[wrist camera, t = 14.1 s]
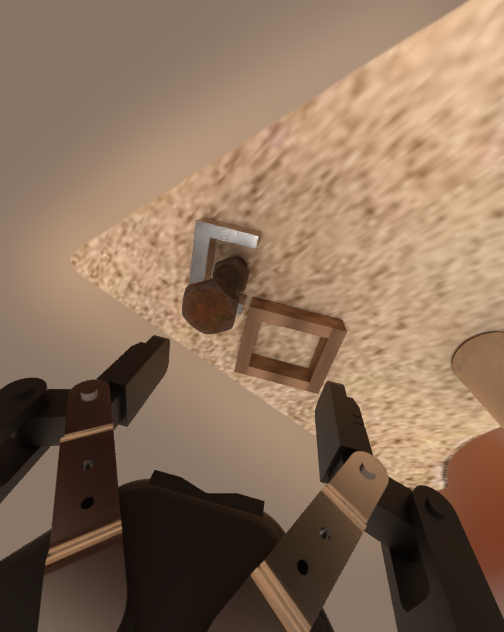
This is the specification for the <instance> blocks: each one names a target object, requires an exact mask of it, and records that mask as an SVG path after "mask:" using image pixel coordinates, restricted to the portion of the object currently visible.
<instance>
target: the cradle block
mask: <svg viewBox="0 0 504 632" xmlns="http://www.w3.org/2000/svg"><path fill="white" fill-rule="evenodd" d="M260 236H261V232H259V231H256V230H252V229H248V228H244V227H240V226H236V225H232V224H228V223H224V222H220V221H216V220H212V219H208V218H202V219H199V220H196V227H195V236H194V245H193V253H192V262H191V271H190V280H189V285H190V284H194V283H198V282H201V281H205V280H209V279H210V276H211V269H212V262H213V256H214V249H215V242H216V239H218V240H222V241H226V242H230V243H234V244H238V245H242V246H246V247H250V248H253V249H256V248H257V246H258V244H259V240H260ZM236 295H237V296H238V297H239V302H238V307H237V312H236V313H237V314H241V313H242V310H243V308H244V305H245V301H246V297H247V295H243V294H239V293H237V294H236Z"/></svg>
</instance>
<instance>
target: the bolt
mask: <svg viewBox="0 0 504 632" xmlns="http://www.w3.org/2000/svg"><path fill="white" fill-rule="evenodd" d="M238 258H239V257H234V258H230V259H226V260H223V261H220V262H217V263H216V264H215V268H214V273H213V279H209V280H205V281H201V282H198V283H194V284H190V285H189V286H188V287H187V288H186V289H185V293H184V297H183V305H182V314H183V317H184V318H185V319H186V321H187V322H188V323H189V324H190V325H191V326H193V327H194V328H195V329H197V330H198V331H200V332H202V333H204V334H215V333H220V332H224V331H226V330H229V329H231V328H232V327H233V324H234V321H235V316H236V312H237V307H238V302H239V297H238V296H237V295H236V294H237V293H240V292H243V291H244V290H245V288H246V284H247V280H248V276H249V270H248V268H247V264H246V262H245V261H244V260H243V259H241V258H239V259H238Z"/></svg>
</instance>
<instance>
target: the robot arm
mask: <svg viewBox="0 0 504 632" xmlns="http://www.w3.org/2000/svg"><path fill="white" fill-rule="evenodd" d="M169 348H170V340H169V339H168V338H164V337H160V336H156V335H154V336H152V337H151V338H150V339H149V340H148V341H147V342H146V343H143V342H140V343H138V344H136V345H133V346H131V347H130V348H129V349H128V350H127V351H126V352H125V353H124V355H122V356H120V357H119V359H118V360H116V361H115V362H114V363H113V364H112V365H111V366H110V367H109V368H108V369H107V370H106V371H104V372H103V374H101V375H100V376H99V377H98V378H97V379H95V380H87V381H83V382H81V383H79V384H77V385H75V386H74V387H73V388H72V389H47V385H46V382H45V381H44V380H42V379H39V378H24V379H20V380H17V381H14V382H12V383H10V384H8V385H6V386H5V387H4V388H2V389H1V390H0V503H1V502H2V501H3V500H4V499H5V497H6V496H7V495H8V494H9V493H10V492H11V491H12V489H13V488H14V487H15V486H16V485H17V484H18V482H19V481H20V480H21V479H22V478H23V477H24V476H25V475H26V474H27V472H28V471H29V470H30V469H31V468H32V467H33V466H34V465H35V463H36V462H37V461H38V460H39V459H40V457H42V455H43V454H44V453H45V452H46V451H47V450H48V449H49V448H50V446H56V445H60V447H59V457H58V467H57V477H56V487H55V497H54V507H53V517H52V528H51V529H50V530H49V531H47V532H45V533H44V534H42V535H41V536H39V537H37V538H36V539H34V540H33V541H31V542H30V543H28V544H26V545H25V546H23V547H22V548H20V549H18V550H17V551H15V552H14V553H12V554H10V555H9V556H7V557H6V558H4V559H2V560H1V561H0V632H334V630H333V628H332V626H331V623H330V621H329V619H328V617H327V615H326V613H325V611H324V609H323V606H324V604H325V602H326V600H327V598H328V596H329V595H330V593H331V591H332V589H333V587H334V585H335V583H336V582H337V580H338V578H339V576H340V574H341V573H342V570H343V569H344V567H345V565H346V563H347V562H348V560H349V558H350V556H351V554H352V552H353V551H354V549H355V547H356V545H357V543H358V541H359V540H360V538H361V536H362V534H363V532H364V531H365V532H366V533H368V534H369V535H371V536H372V537H374V538H375V539H377V540H378V541H380V542H381V546H382V552H383V557H384V562H385V567H386V573H387V578H388V583H389V588H390V593H391V599H392V604H393V609H394V614H395V619H396V625H397V629H398V632H504V619H503V617H502V614H501V612H500V610H499V607H498V605H497V603H496V601H495V599H494V596H493V594H492V592H491V590H490V587H489V585H488V583H487V581H486V578H485V576H484V574H483V572H482V570H481V567H480V565H479V563H478V560H477V558H476V556H475V554H474V552H473V549H472V547H471V545H470V543H469V540H468V538H467V536H466V534H465V531H464V529H463V527H462V525H461V522H460V520H459V518H458V516H457V514H456V512H455V510H454V508H453V507H452V505H451V504H450V503H449V502H448V501H447V499H445V498H444V496H442V495H441V494H440V493H439V492H437V491H436V490H434V489H432V488H430V487H428V486H423V485H420V486H417V487H416V488H415V489H414V490H413V491H412V490H411V489H409V488H407V487H405V486H404V485H402V484H400V483H398V482H397V481H395V480H393V479H392V478H390V477H389V476H388V473H387V471H386V469H385V467H384V466H383V464H382V463H381V462H380V461H379V460H378V459H377V458H375V457H374V456H373V453H372V450H371V446H370V443H369V439H368V436H367V432H366V429H365V427H364V422H363V419H362V415H361V412H360V408H359V406H358V405H357V404H356V402H355V401H354V399H353V398H350V397H347V395H346V391H345V387H344V385H342V384H339V383H335V382H331V381H327V382H326V384H325V386H324V388H323V391H322V393H321V395H320V397H319V400H318V402H317V405H316V409H315V423H316V436H317V448H318V460H319V473H320V482H322V483H327V484H328V485H325V486H324V487H323V488H322V489H321V491H320V492H319V493H318V494H317V496H316V497H315V498H314V499H313V500H312V502H311V503H310V504H309V506H308V507H307V508H306V509H305V510H304V512H303V513H302V514H301V515H300V517H299V518H298V519H297V520H296V521H295V523H294V524H293V525H292V526H291V528H290V529H289V530H288V531H287V533H285V531H284V530H283V529H282V528H281V526H280V525H279V524H278V523H277V522H276V521H275V520H274V519H273V518H272V517H271V516H269V515H268V514H267V513H265V512H264V511H263V510H264V501H262V500H258V499H254V498H251V497H248V496H244V495H241V494H237V493H220V494H219V493H212V494H211V493H205V492H204V491H202V490H200V489H199V488H197V487H196V486H194V485H192V484H191V483H189V482H188V481H186V480H184V479H183V478H181V477H178V476H175V475H171V474H167V473H164V472H160V471H157V470H154V472H153V474H152V476H151V478H150V479H142V480H136V481H133V482H129V483H126V484H124V485H122V486H120V487H118V477H117V466H116V453H115V441H114V429H115V428H116V427H117V426H118V424H119V425H123V426H126V427H128V425H129V424H130V422H131V421H132V419H133V418H134V417H135V415H136V414H137V413H138V411H139V410H140V408H141V407H142V406H143V404H144V403H145V401H146V400H147V399H148V397H149V396H150V395H151V393H152V392H153V390H154V389H155V387H156V386H157V385H158V383H159V382H160V381H161V379H162V378H163V376H164V375H165V373H166V371H167V368H168V363H169ZM452 367H453V370H454V372H455V374H456V375H457V376H458V378H459V379H460V380H461V381H462V382H463V383H464V384H465V386H466V387H467V388H468V389H469V390H470V391H471V393H472V394H473V395H474V396H475V397H476V398H477V399H478V401H479V402H480V403H481V404H482V405H483V406H484V407H485V408H486V410H487V411H488V412H489V413H490V414H491V415H492V416H493V418H494V419H495V420H496V421H497V422H498V423H499V424H500V426H501V427H502V428H503V429H504V333H501V332H494V333H487V334H483V335H480V336H477V337H475V338H473V339H471V340H469V341H467V342H466V343H465V344H464V345H462V346H461V347H460V348H459V350H458V351H457V352H456V354H455V356H454V358H453V361H452Z"/></svg>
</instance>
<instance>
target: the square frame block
mask: <svg viewBox="0 0 504 632" xmlns="http://www.w3.org/2000/svg"><path fill="white" fill-rule="evenodd" d="M261 321H264V322H268V323H271V324H275V325H279V326H283V327H287V328H290V329H294V330H298V331H302V332H306V333H310V334H313V335H317V336H321V339H320V342H319V344H318V347H317V349H316V351H315V354H314V356H313V359H312V361H311V364H310V366H309V368H308V369H307V368H304V367H300V366H296V365H292V364H288V363H285V362H281V361H277V360H273V359H270V358H266V357H262V356H258V355H254V354H252V351H253V348H254V344H255V340H256V337H257V333H258V329H259V326H260V322H261ZM346 333H347V331H346V328H345V326H344V323H343V320H339V319H335V318H332V317H328V316H324V315H320V314H316V313H312V312H308V311H305V310H301V309H297V308H293V307H289V306H285V305H281V304H278V303H274V302H270V301H266V300H262V299H258V298H255V297H253V299H252V302H251V305H250V308H249V312H248V317H247V321H246V325H245V329H244V333H243V337H242V341H241V346H240V350H239V354H238V358H237V362H236V366H235V371H234V372H238V373H242V374H246V375H249V376H253V377H257V378H261V379H264V380H268V381H272V382H276V383H279V384H283V385H287V386H291V387H294V388H298V389H302V390H306V391H309V392H313V393H317V394H318V393H319V391H320V389H321V387H322V385H323V382H324V380H325V378H326V376H327V374H328V372H329V370H330V367H331V365H332V363H333V361H334V359H335V357H336V354H337V352H338V350H339V348H340V346H341V344H342V341H343V339H344V337H345V335H346Z"/></svg>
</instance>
